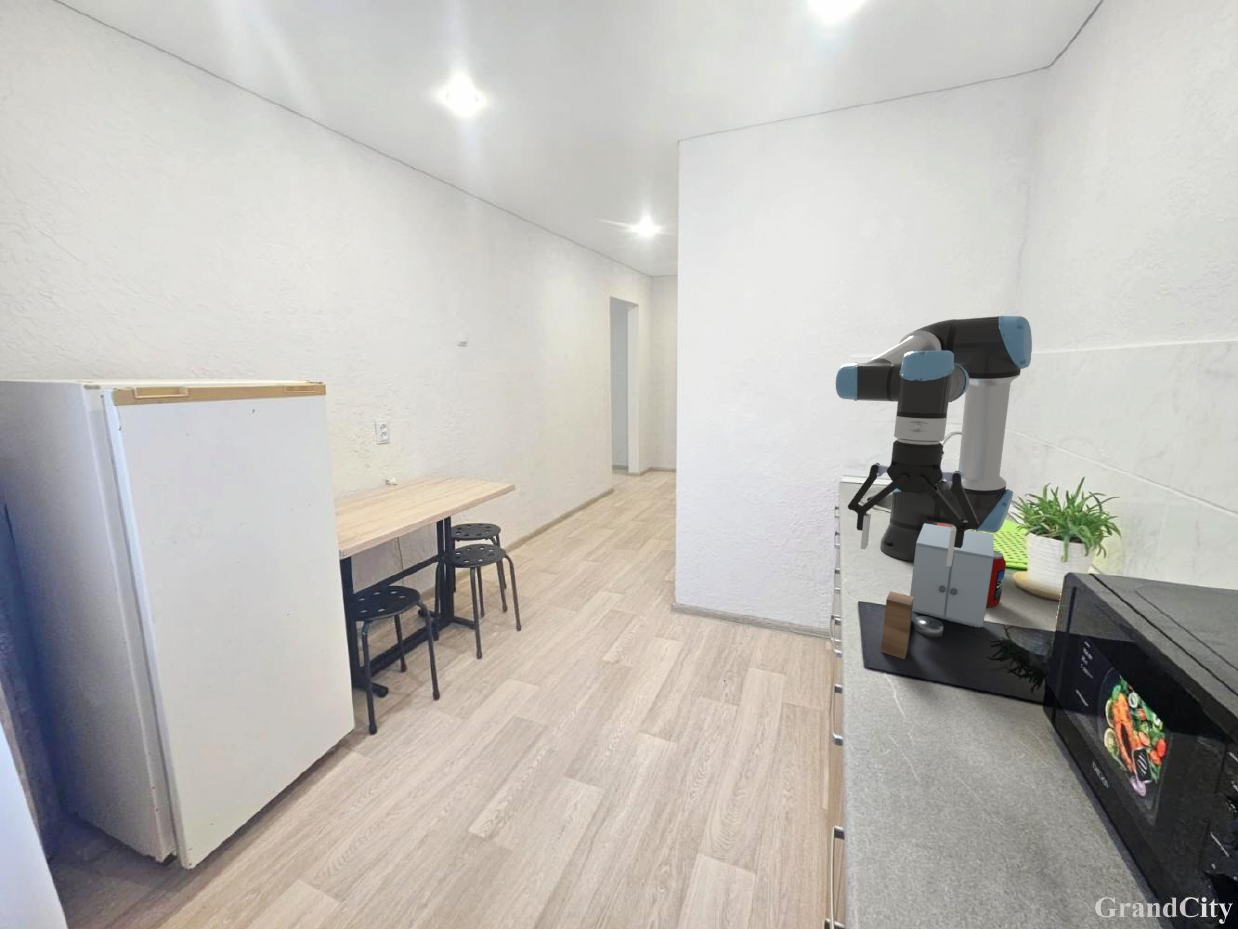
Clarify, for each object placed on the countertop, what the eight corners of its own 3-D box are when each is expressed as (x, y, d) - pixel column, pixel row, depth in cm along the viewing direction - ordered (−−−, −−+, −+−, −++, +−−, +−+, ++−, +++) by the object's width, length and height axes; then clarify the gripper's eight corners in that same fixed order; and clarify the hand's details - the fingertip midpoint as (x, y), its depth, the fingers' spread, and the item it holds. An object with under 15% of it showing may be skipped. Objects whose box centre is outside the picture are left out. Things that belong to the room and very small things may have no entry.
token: (915, 622, 104) (916, 613, 103) (943, 629, 101) (944, 620, 100) (912, 632, 100) (913, 624, 99) (941, 640, 97) (942, 631, 96)
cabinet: (913, 607, 109) (924, 523, 105) (979, 624, 102) (993, 534, 98) (904, 638, 97) (915, 544, 93) (978, 659, 90) (993, 558, 86)
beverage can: (1005, 610, 108) (1014, 559, 105) (971, 607, 109) (979, 557, 107) (989, 596, 114) (997, 547, 112) (957, 593, 116) (964, 546, 113)
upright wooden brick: (894, 615, 106) (899, 568, 104) (915, 620, 104) (921, 572, 102) (880, 651, 93) (886, 599, 91) (904, 659, 91) (911, 605, 89)
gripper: (837, 437, 89) (828, 546, 94) (1009, 450, 75) (989, 579, 79) (846, 433, 95) (837, 535, 100) (1007, 444, 81) (989, 564, 85)
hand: (904, 555), depth 89 cm, fingers open, 13 cm apart
